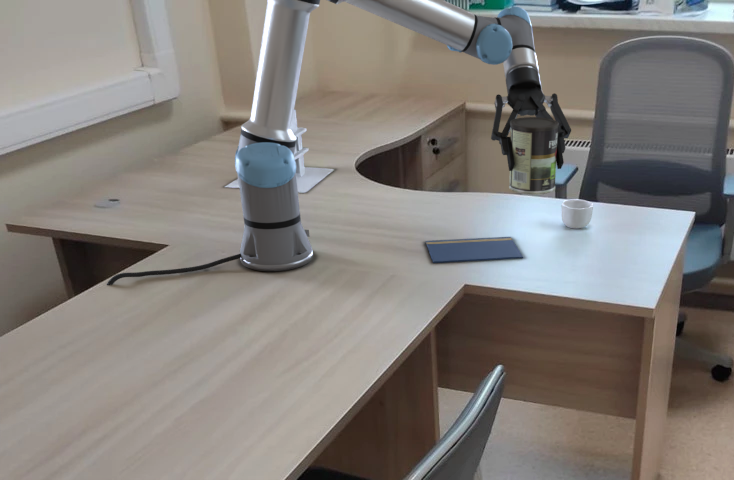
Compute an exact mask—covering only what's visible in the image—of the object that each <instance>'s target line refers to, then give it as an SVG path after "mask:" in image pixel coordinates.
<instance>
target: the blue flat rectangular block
mask: <svg viewBox="0 0 734 480" xmlns="http://www.w3.org/2000/svg"><path fill="white" fill-rule="evenodd" d="M425 245H426V248H427V250H428V253H429V255H430V258H431V260H432V261H431V262H432V263H433V264H442V263H443V264H444V263H460V262H461V263H462V262H464V263H465V262H478V261H479V262H481V261H482V262H483V261H497V260H499V261H500V260H517V259H524V256H523V253H522V252H521V251H520V249H519V248H518V246H517V245H516V243H515V241H514V239H513V238H512V236H500V237H499V236H498V237H479V238H478V237H475V238H459V239H457V238H456V239H440V240H438V239H437V240H425Z"/></svg>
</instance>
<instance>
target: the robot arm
mask: <svg viewBox="0 0 734 480" xmlns="http://www.w3.org/2000/svg"><path fill="white" fill-rule="evenodd" d="M326 1H328V2H329V3H333V4H335V5H340V4H342V3H347V4H349V5H352V6H354V7H356V8H359V9H361V10H364V11H365V12H368V13H370V14H372V15H375V16H377V17H380V18H382V19H385V20H387V21H389V22H391V23H394V24H396V25H399V26H401V27H403V28H405V29H408V30H410V31H413V32H415V33H418V34H420V35H423V36H424V37H426V38H428V39H432V40H434V41H436V42H439V43H441V44H444V45H446V47H447V49H448V50H449V51H451V52H459V53H460V54H462V53H464V54H466V55H468V56H471V57H474V58H476V59H478V60H480V61H481V62H482V63H485V64H488V65H493V66H494V65H495V66H496V65H501V64H502V65H503V72H504V78H505V85H506V92H507V93H506V94H507V96H502V95H501V94H496V95H495V99H494V103H493V104H494V108H495V113H494V119H493V125H492V130H491V136H490V140H492V141H498V144H499V145H500V150H501V154H502V156H506V160H507V164H508V165H507V167H508V171H509V172H510V171H513V168H514V165H515V163H514V156H513V150H512V143H511V136H509V134H510V133H511V126H510V121H511V120H513V119H517V118H518V116H520V117H524V116H525V117H526V116H529V117H541V118H548V119H552V120H555V121H557V122H558V123H559V126H558V137H557V156H556V170H562V168H563V165H564V163H565V161H564V155H563V154H564V153H565V151H566V148H567V147H566V141H565V139H569V137H570V135H571V134H572V133H571V132H572V128H571V126H570V124H569V122H568V120H567V118H566V116H565V114H564V112H563V110H562V108H561V106H560V103H559V99H558V94H557V93H552V94H551V95H545V93H544V92H543V90H542V82H541V76H540V73H539V72H540V71H539V65H538V58H537V53H536V48H535V47H536V46H535V41H534V30H533V26H532V23H531V19H530V15H529V13H528V12H527V10H526V9H524V8H522V7H521V6H511V7H510V8H508V7H506V8H504V9H502V10H501V11H500V12H499V13H498V14H497V17H492V16H482V15H477V14H474V12H471V11H468V10H466V9H464V8H461V7H459V6H457V5H456V4H454V3H453V4H452V3H451V2H449V1H447V0H326ZM320 3H321V0H266V8H265V9H266V10H265V15H264V21H263V28H262V36H261V42H260V49H259V56H258V61H257V69H256V75H255V76H256V77H255V84H254V89H253V90H254V91H253V96H252V97H253V98H252V104H251V111H250V118H249V119H248V120H247V121H246V122H244V123H242V124H241V129H240V134H239V135H240V136H239V142H238V146H237V149H236V150H235V155H234V166H235V171H236V174H237V179H238V181H239V188H238V189H239V194H240V195H239V196H240V203H241V208H242V209H241V210H242V216H243V223H244V224H243V225H244V226H243V227H244V228H243V234H242V237H241V243H240V248H239V253H237V254H233V255H230V256H227V257H224V258H220V259H217V260H214V261H212V262H208V263H205V264H201V265H195V266H189V267H181V268H171V269H161V270H160V269H159V270H158V269H157V270H146V271H137V272H136V271H135V272H121V273H117V274H114V276H112V277H110V279H109V280H108V282H107V283H106V286H112V285H114V284H115V283H116V281H118V280H120V279H124V278H141V277H147V276H148V277H149V276H164V275H165V276H166V275H175V274H183V273H190V272H197V271H202V270H206V269H209V268H213V267H216V266H219V265H222V264H225V263H229V262H232V261H236V260H239V259H240V263H241V265H242V266H244V267H245V268H248V269H250V270H254V271H259V272H260V271H261V272H283V271H291V270H294V269H298V268H301V267H303V266H305V265H307V264H309V263H310V262H311V261H312V260H313V259H314V252H313V247H312V244H311V242H310V240H309V237H310V230H309V229H305V228H304V226H303V224H302V219H301V210H300V200H299V192H298V189H297V179H296V162H295V160H294V151H295V144H296V139H297V138H296V136H295V135H294V133H293V132H292V130H291V125H292V119H293V113H294V110H295V107H296V100H297V95H298V89H299V81H300V77H301V70H302V65H303V58H304V53H305V46H306V40H307V35H308V30H309V29H308V28H309V22H310V16H311V13H312V12H313V11H314V10H316V9H318V8H319V7H320ZM544 103H546V106H547V107H548V108H549V109H550V112H551V114H552V116H553V117H552V116H551V114H550V113H549V112H548V111H547V109H546V107H545V105H544ZM506 104H507V105H508V106H509V107H510V108H511V109H512V111H511V113H510V114H509V117H508V119H507V121H506V123H505V125H504V127H503V129H502V131H500V124H501V119H502V113H503V108H505V106H506Z"/></svg>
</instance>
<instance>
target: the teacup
mask: <svg viewBox="0 0 734 480" xmlns="http://www.w3.org/2000/svg"><path fill="white" fill-rule="evenodd" d="M593 210H594V204H593V202H591V201H589V200H585V199H580V198H579V199H578V198H572V199H571V198H570V199H566V200H564V201H562V202H561V205H560V211H561V212H560V213H561V220H562V223H563V224H564V225H565V226H566V227H568V228H570V229H579V230H580V229H584V228H585V227H587V226H588V225H589V224H590V223H591V221H592V218H593Z"/></svg>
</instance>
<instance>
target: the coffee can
mask: <svg viewBox="0 0 734 480" xmlns="http://www.w3.org/2000/svg"><path fill="white" fill-rule="evenodd" d="M510 126H511V130H510V137H511V143H512V150H513V156H514V163H515V165H514V168H513V171H509V185H508V188H509V190H511V191H513V192H515V193H518V194H524V195H544V194H549V193H552V192H554V191H555V190H556V175H557V174H556V173H557V162H556V156H557V137H558V126H559V123H558V122H557V121H556V120H555V119H553V120H552V119H548V118H541V117H536V116H525V117H524V116H523V117H517V118H516V119H513V120H511V121H510Z"/></svg>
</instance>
